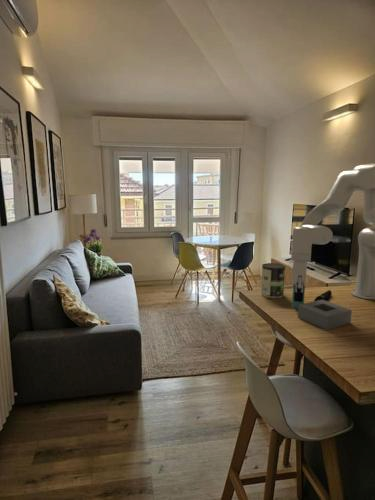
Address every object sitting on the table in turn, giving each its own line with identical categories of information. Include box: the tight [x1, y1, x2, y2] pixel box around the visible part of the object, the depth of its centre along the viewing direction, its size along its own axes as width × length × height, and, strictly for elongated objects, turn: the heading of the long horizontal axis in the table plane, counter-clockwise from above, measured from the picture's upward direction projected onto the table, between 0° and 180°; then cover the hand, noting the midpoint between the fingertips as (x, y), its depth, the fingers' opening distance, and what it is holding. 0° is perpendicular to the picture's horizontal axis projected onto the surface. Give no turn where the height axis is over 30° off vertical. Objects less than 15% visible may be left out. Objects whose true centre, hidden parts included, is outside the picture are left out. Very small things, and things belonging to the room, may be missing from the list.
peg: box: [291, 283, 306, 309], centre depth 134 cm, size 4×4×10 cm
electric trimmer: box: [313, 289, 333, 302], centre depth 144 cm, size 4×16×3 cm, turn 138°
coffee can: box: [260, 262, 286, 299], centre depth 149 cm, size 10×10×14 cm
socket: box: [297, 300, 353, 331], centre depth 120 cm, size 13×13×5 cm
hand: (298, 299), depth 134 cm, fingers closed on peg, 4 cm apart
